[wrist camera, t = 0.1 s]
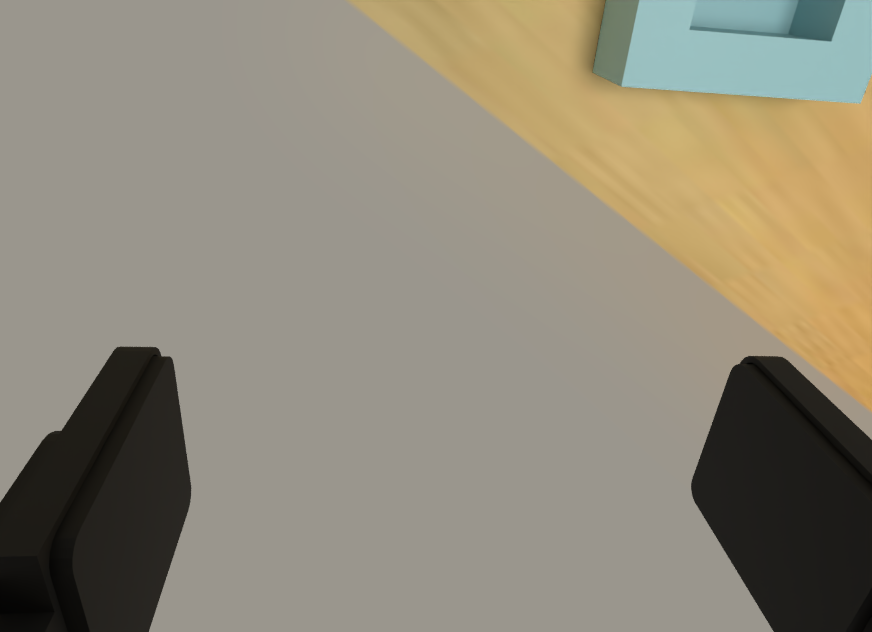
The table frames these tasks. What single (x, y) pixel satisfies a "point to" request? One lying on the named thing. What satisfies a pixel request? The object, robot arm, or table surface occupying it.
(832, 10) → the block
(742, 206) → the table surface
